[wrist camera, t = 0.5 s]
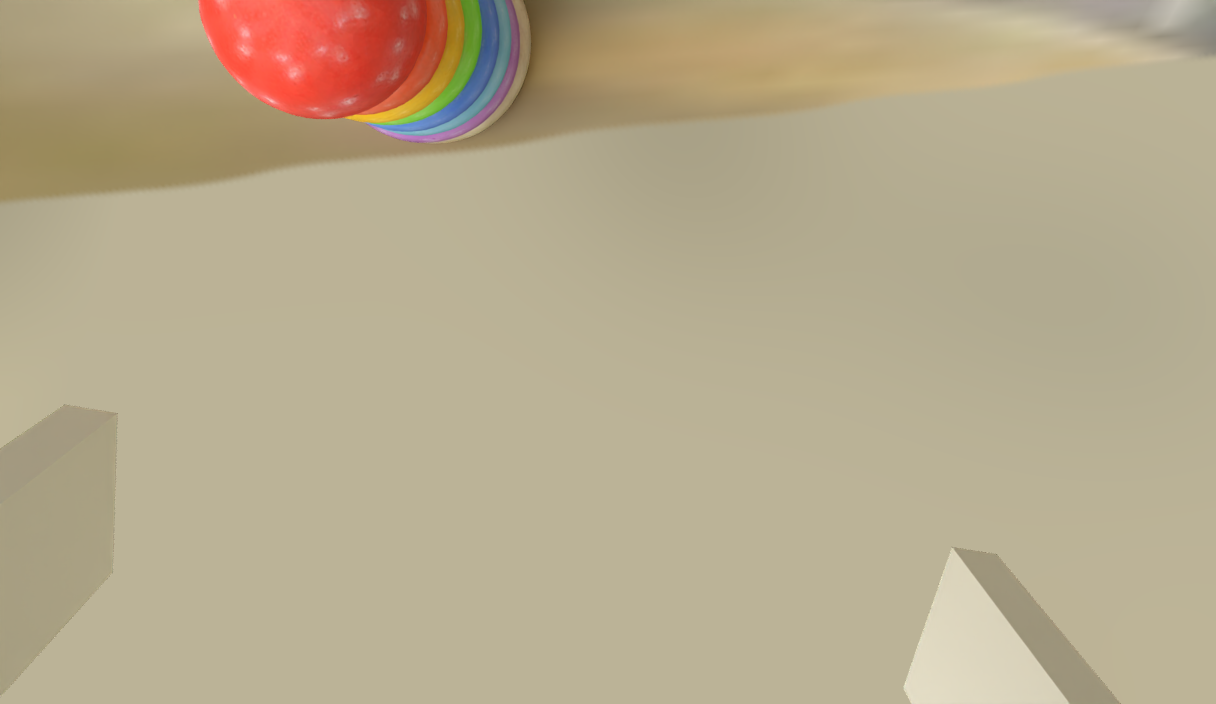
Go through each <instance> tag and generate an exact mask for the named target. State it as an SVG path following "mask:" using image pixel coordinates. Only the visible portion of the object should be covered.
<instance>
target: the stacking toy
mask: <svg viewBox="0 0 1216 704" xmlns="http://www.w3.org/2000/svg"><path fill="white" fill-rule="evenodd" d="M199 12H200V16H201V20H202V23H203V26H204V29H205V32H206V34H207V37H208V40H209V42H210V44H211V46H212V48H213V50H214V51H215V53H216V55H217V57H218V58H219V60H220V61H221V62H222V64H223V65H224V66H225V68H226V69H227V70H228V72H229V73H230V74H231V75H232V76H233V77H234V79H235V80H236V81H237V82H238V83H239V84H240V85H241V86H243V87H244V88H245V89H246V90H247V91H248V92H249V93H251V94H252V95H253V96H255V97H256V98H258V99H259V100H261V101H262V102H264V103H266V104H268V105H270V106H272V107H274V108H276V109H279V110H281V111H284V112H286V113H289V114H292V115H296V116H300V117H305V118H313V119H336V118H343V117H344V118H347V119H351V120H355V121H360V122H365V123H366V124H368V125H369V126H371V127H372V128H374V129H376V130H378V131H379V132H381V133H383V134H386V135H388V136H391V137H393V138H396V139H400V140H404V141H409V142H418V143H434V144H439V143H449V142H455V141H459V140H463V139H466V138H469V137H471V136H473V135H476V134H478V133H480V132H481V131H483V130H485V129H486V128H488V127H489V126H491V125H492V124H493V123H494V122H496V121H497V120H498V119H499V118H500V117H501V116H502V115H503V114H504V113H505V112H506V111H507V110H508V108H509V107H510V106H511V104H512V103H513V101H514V100H515V98H516V96H517V95H518V93H519V91H520V89H521V87H522V85H523V82H524V79H525V77H526V74H527V70H528V66H529V61H530V54H531V32H530V23H529V18H528V14H527V11H526V7H525V4H524V1H523V0H199Z"/></svg>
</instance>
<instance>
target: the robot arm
mask: <svg viewBox="0 0 1216 704" xmlns="http://www.w3.org/2000/svg"><path fill="white" fill-rule="evenodd" d="M117 414H118V413H113V412H107V411H101V410H95V409H89V408H82V407H76V406H69V405H63V406H62V407H60V408H59V409H58V410H56V411H55V412H53V413H52V414H50V415H49V416H47V417H46V418H44V419H43V420H42V421H40V422H38V423H37V424H35V425H34V426H32V427H31V428H30V429H28V430H27V431H25V432H24V433H23V434H21V435H19V436H18V437H17V438H15V439H13V440H12V441H10V442H9V443H7V444H6V445H5V446H3V447H2V448H0V697H1V696H2V695H3V694H4V693H5V691H6V690H7V689H8V688H9V687H10V686H11V685H12V684H13V682H14V681H15V680H16V679H17V678H18V677H19V676H20V675H21V674H22V673H23V671H24V670H25V669H26V668H27V667H28V666H29V665H30V664H31V663H32V661H33V660H34V659H35V658H36V657H37V656H38V655H39V654H40V653H41V651H42V650H43V649H44V648H45V647H46V646H47V645H48V644H49V643H50V642H51V640H52V639H53V638H54V637H55V636H56V635H57V634H58V633H59V632H60V630H61V629H62V628H63V627H64V626H65V625H66V624H67V623H68V621H69V620H70V619H71V618H72V617H73V616H74V615H75V614H76V613H77V612H78V610H79V609H80V608H81V607H82V606H83V605H84V604H85V603H86V602H87V600H88V599H89V598H90V597H91V596H92V595H93V594H94V593H95V591H96V590H97V589H98V588H99V587H100V586H101V585H102V584H103V583H104V582H105V580H106V579H107V578H108V577H109V576H110V575H111V574H112V573H113V552H114V550H113V549H114V518H115V517H114V516H115V483H116V449H117ZM904 690H905V692H906V694H907V696H908V698H909V700H910V702H911V704H1121V703H1120V702H1119V701H1118V700H1117V698H1116V697H1115V696H1114V695H1113V694H1112V692H1111V691H1110V690H1109V689H1108V688H1107V686H1106V685H1105V684H1104V683H1103V682H1102V680H1101V679H1100V678H1099V677H1098V675H1097V674H1096V673H1095V672H1094V671H1093V669H1092V668H1091V667H1090V666H1089V665H1088V664H1087V662H1086V661H1085V660H1084V659H1083V658H1082V656H1081V655H1080V654H1079V653H1078V651H1077V650H1076V649H1075V648H1074V647H1073V645H1072V644H1071V643H1070V642H1069V641H1068V639H1067V638H1066V637H1065V636H1064V634H1063V633H1062V632H1061V631H1060V630H1059V628H1058V627H1057V626H1056V625H1055V624H1054V622H1053V621H1052V620H1051V619H1050V618H1049V616H1048V615H1047V614H1046V613H1045V612H1044V610H1043V609H1042V608H1041V607H1040V606H1039V605H1038V603H1037V602H1036V601H1035V600H1034V598H1033V597H1032V596H1031V595H1030V593H1028V591H1027V590H1026V589H1025V588H1024V586H1023V585H1022V584H1021V583H1020V581H1019V580H1018V579H1017V578H1016V577H1015V575H1014V574H1013V573H1012V572H1011V571H1010V569H1009V568H1008V567H1007V566H1006V565H1005V564H1004V562H1003V561H1002V560H1001V559H1000V557H999V556H998V555H997V554H992V553H986V552H979V551H973V550H966V549H961V548H954V547H952V549H951V552H950V555H949V558H948V561H947V564H946V566H945V569H944V572H943V575H942V578H941V581H940V584H939V587H938V589H937V592H936V595H935V598H934V601H933V604H932V607H931V610H930V612H929V616H928V618H927V621H926V624H925V627H924V630H923V633H922V636H921V638H920V641H919V644H918V647H917V650H916V653H915V656H914V659H913V661H912V665H911V667H910V670H909V673H908V676H907V679H906V682H905V684H904Z"/></svg>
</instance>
